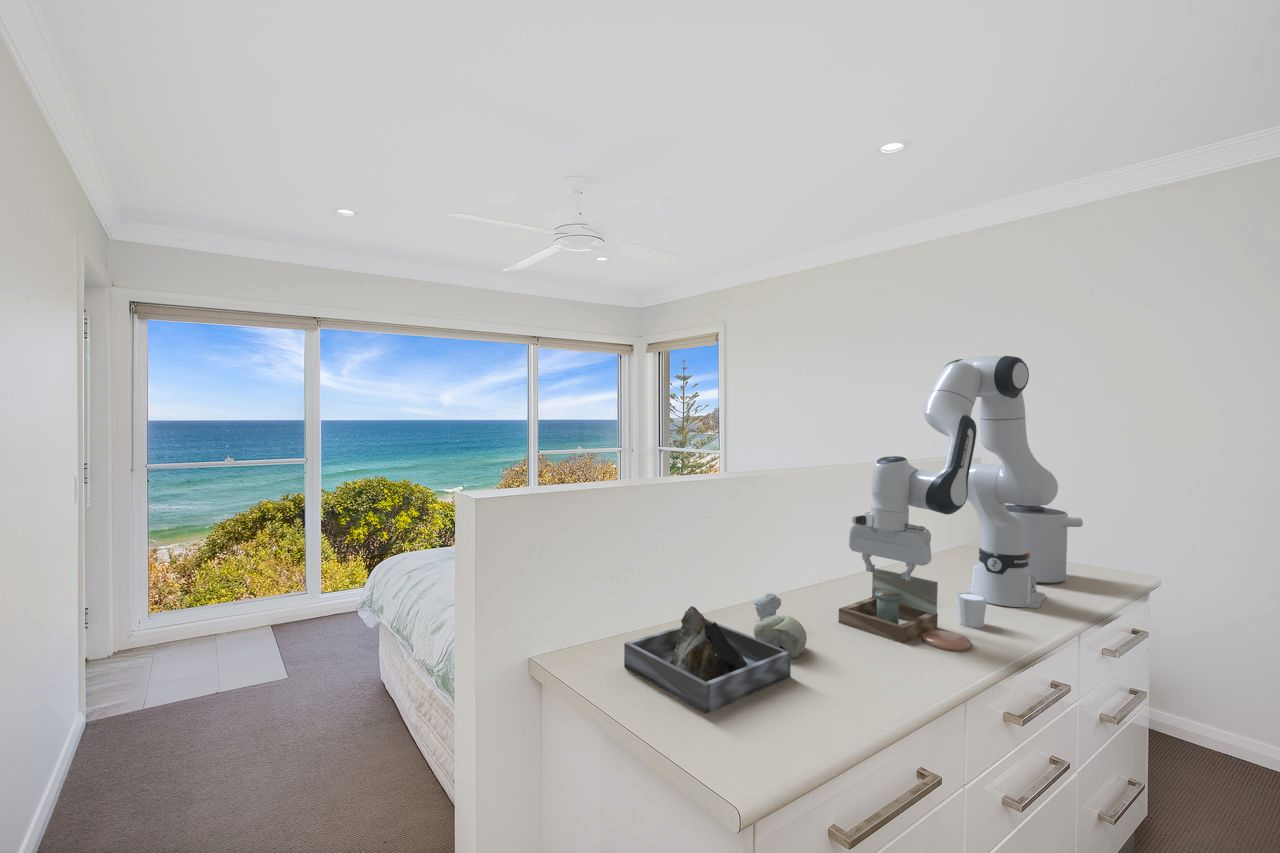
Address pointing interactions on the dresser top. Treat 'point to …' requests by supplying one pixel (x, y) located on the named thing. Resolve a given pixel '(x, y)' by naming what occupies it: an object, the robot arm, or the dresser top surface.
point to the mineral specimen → (704, 649)
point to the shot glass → (971, 609)
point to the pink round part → (946, 640)
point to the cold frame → (913, 607)
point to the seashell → (782, 633)
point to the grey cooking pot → (1045, 540)
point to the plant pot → (888, 605)
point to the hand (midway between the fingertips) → (887, 575)
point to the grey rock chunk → (767, 605)
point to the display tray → (760, 672)
